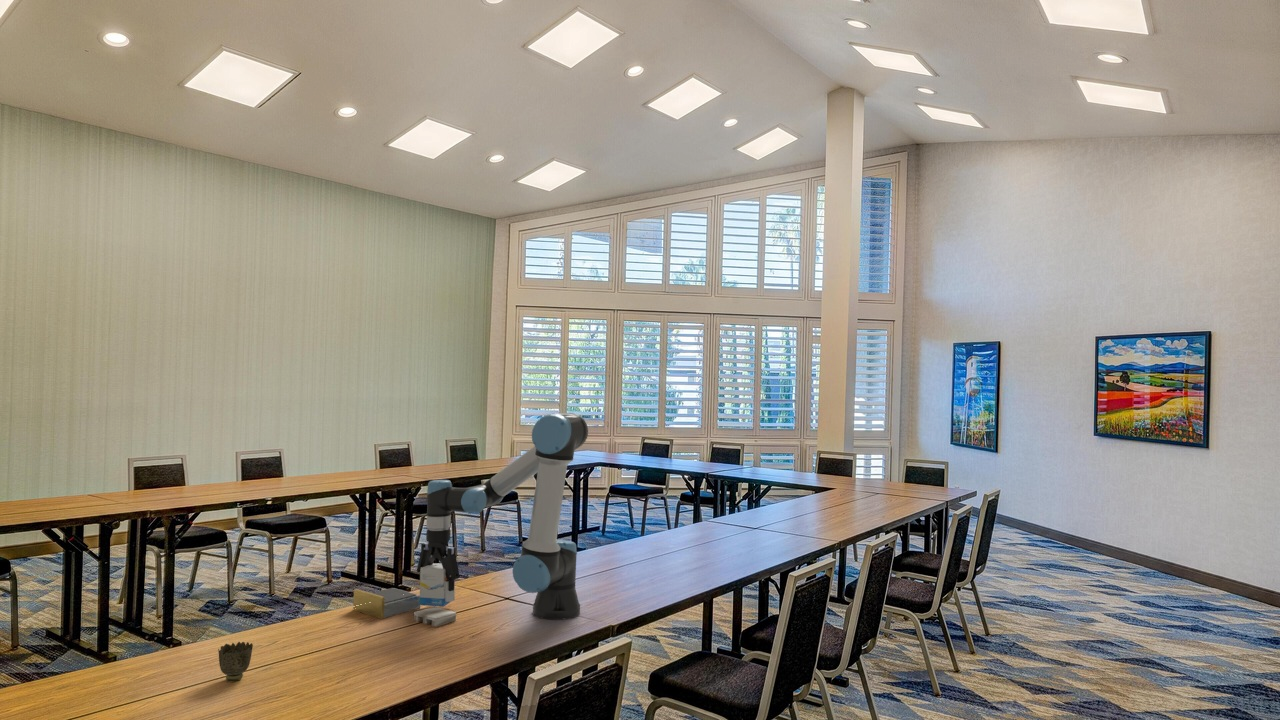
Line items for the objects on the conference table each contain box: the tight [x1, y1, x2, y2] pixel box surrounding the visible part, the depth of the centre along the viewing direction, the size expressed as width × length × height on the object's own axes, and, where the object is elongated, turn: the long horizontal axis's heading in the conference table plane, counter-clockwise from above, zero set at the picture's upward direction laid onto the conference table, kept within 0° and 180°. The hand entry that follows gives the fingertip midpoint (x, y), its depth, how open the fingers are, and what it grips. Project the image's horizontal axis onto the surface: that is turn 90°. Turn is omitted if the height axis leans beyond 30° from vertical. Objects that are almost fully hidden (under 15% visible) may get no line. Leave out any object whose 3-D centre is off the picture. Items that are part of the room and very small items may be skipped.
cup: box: [217, 641, 254, 682], centre depth 187 cm, size 8×7×8 cm
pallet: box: [413, 606, 457, 628], centre depth 237 cm, size 10×8×2 cm
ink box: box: [419, 562, 456, 608], centre depth 248 cm, size 9×8×12 cm
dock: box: [352, 587, 421, 619], centre depth 247 cm, size 14×15×6 cm
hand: (437, 598), depth 248 cm, fingers closed on ink box, 10 cm apart
